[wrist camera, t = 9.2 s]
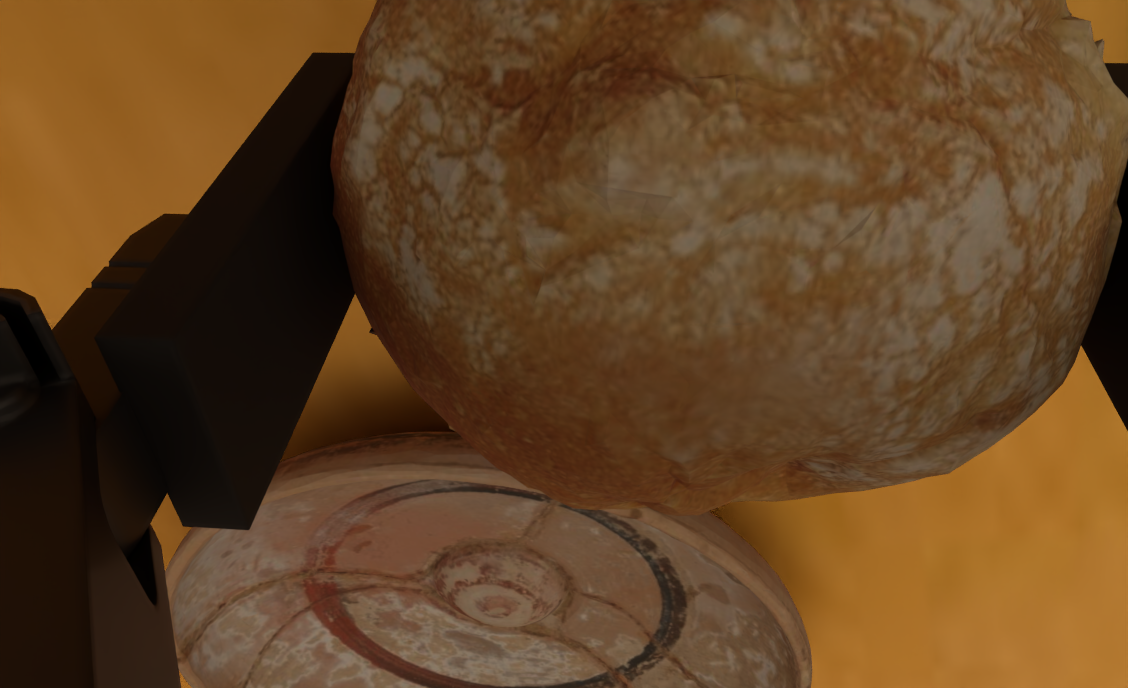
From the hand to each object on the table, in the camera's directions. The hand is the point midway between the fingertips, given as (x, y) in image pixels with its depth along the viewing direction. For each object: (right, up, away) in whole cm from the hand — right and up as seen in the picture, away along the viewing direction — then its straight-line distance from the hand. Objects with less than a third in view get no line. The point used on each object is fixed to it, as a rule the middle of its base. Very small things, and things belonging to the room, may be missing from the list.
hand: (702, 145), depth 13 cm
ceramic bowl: (-5, -12, +23) cm, 26 cm away
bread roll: (0, 0, 0) cm, 0 cm away
